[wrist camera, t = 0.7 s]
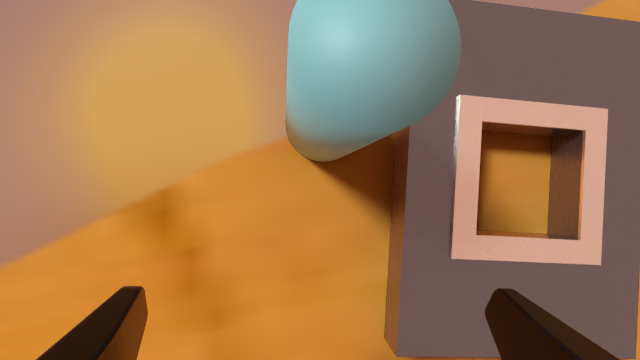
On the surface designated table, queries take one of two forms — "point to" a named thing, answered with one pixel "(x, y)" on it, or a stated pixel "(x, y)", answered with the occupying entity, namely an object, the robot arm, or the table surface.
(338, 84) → the teal peg
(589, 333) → the flange plate
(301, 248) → the table surface
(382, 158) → the table surface
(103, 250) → the table surface
